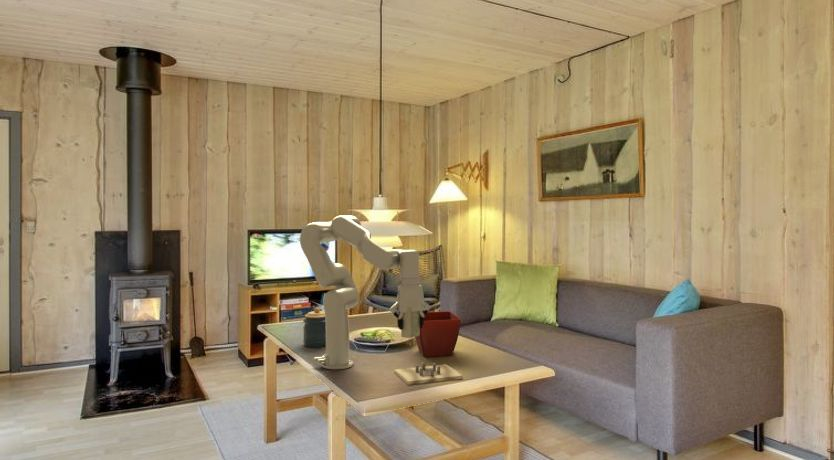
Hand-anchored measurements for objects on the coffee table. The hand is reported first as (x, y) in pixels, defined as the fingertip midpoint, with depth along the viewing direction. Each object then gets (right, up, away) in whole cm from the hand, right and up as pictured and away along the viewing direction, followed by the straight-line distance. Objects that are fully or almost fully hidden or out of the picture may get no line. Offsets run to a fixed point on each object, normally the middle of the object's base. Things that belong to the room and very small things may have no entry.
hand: (410, 327), depth 205 cm
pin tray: (+7, -18, +1) cm, 20 cm away
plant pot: (+10, -18, +34) cm, 40 cm away
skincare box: (0, -4, 0) cm, 4 cm away
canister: (-45, -17, +49) cm, 69 cm away
